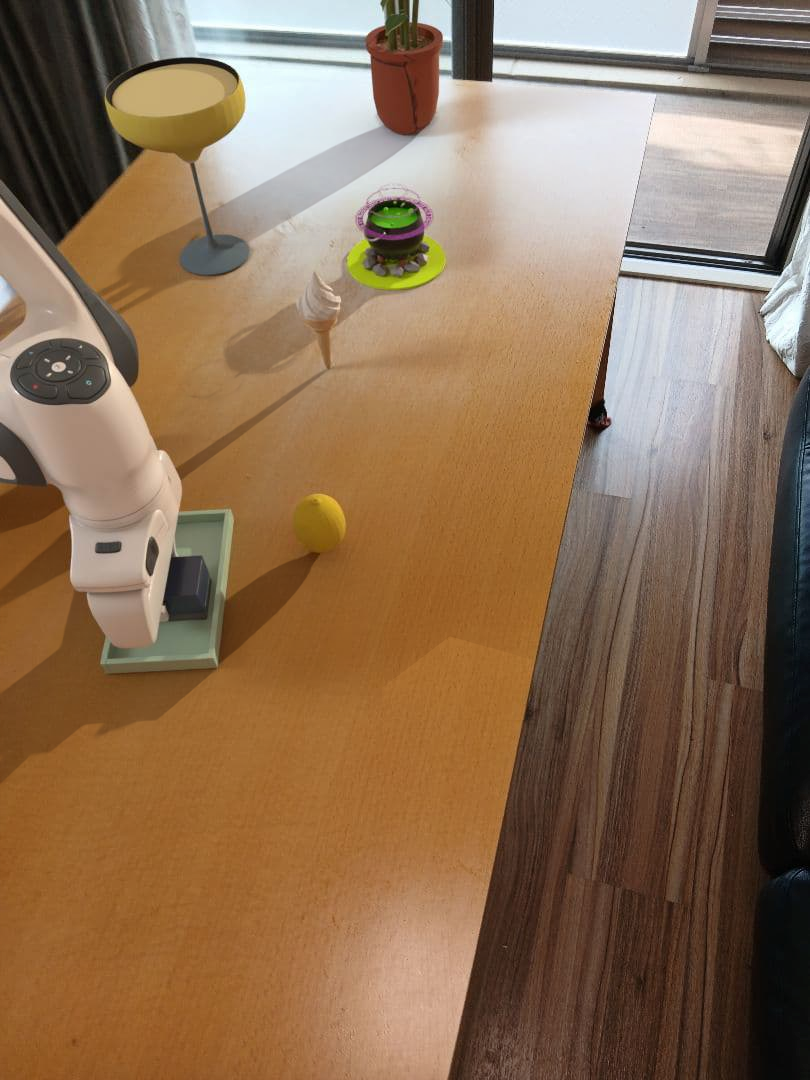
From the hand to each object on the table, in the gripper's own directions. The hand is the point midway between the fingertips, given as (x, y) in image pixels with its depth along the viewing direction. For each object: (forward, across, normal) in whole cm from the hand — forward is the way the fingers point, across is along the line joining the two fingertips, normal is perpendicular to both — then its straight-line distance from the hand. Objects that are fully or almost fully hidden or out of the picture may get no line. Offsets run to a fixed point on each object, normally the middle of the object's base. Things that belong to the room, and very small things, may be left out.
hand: (166, 590), depth 84 cm
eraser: (+2, 0, 0) cm, 2 cm away
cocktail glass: (+3, -65, -2) cm, 65 cm away
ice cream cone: (+3, -37, +16) cm, 40 cm away
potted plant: (+3, -101, +30) cm, 105 cm away
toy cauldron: (+3, -61, +26) cm, 66 cm away
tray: (+3, -2, 0) cm, 3 cm away
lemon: (+3, -7, +16) cm, 18 cm away
